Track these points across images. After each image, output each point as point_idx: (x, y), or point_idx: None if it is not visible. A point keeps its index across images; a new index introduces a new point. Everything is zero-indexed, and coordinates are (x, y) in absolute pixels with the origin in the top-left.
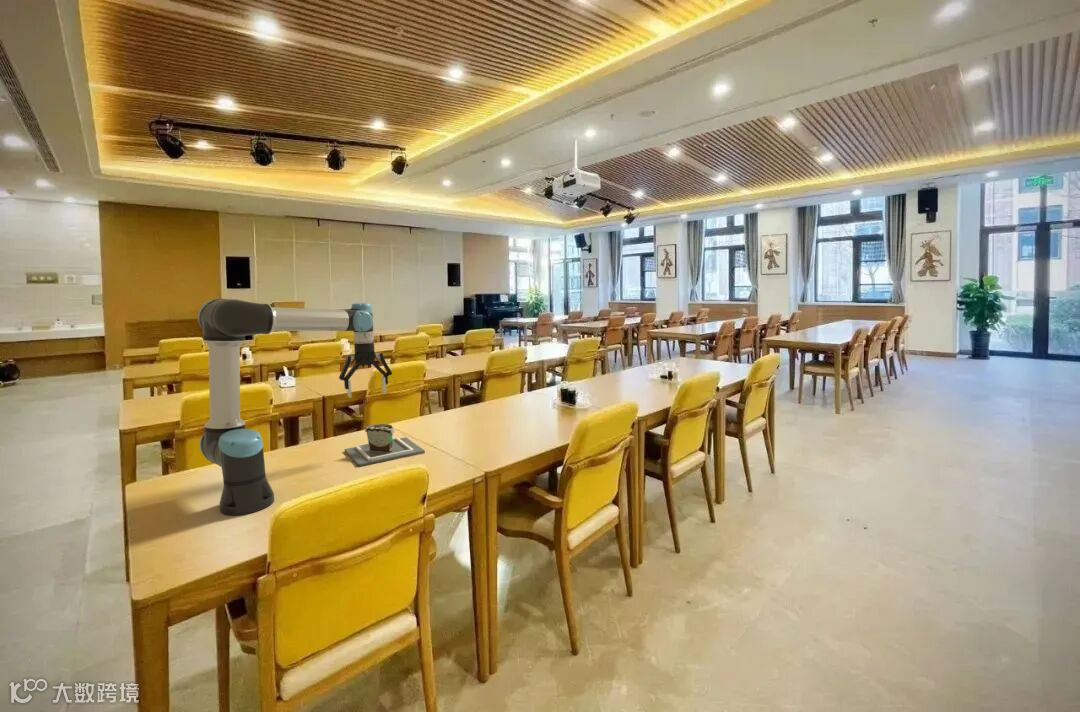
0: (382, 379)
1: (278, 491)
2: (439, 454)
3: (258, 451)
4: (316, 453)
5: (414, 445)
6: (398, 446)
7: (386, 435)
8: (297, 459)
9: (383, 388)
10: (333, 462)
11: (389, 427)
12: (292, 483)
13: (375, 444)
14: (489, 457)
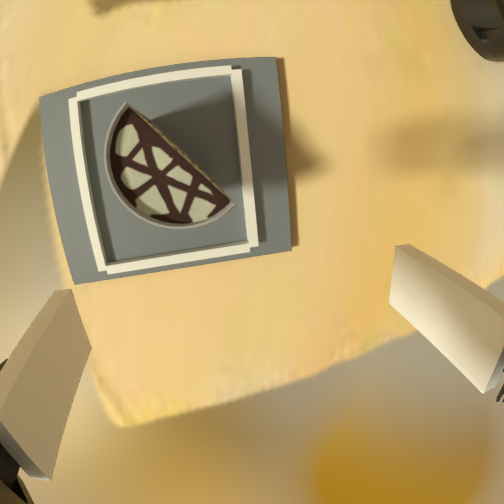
0: (39, 429)
1: (449, 38)
2: (13, 68)
3: None
4: (361, 268)
5: (55, 171)
6: (107, 185)
7: (148, 123)
8: (407, 239)
9: (62, 335)
10: (337, 152)
11: (119, 175)
12: (431, 60)
13: (195, 164)
14: None
